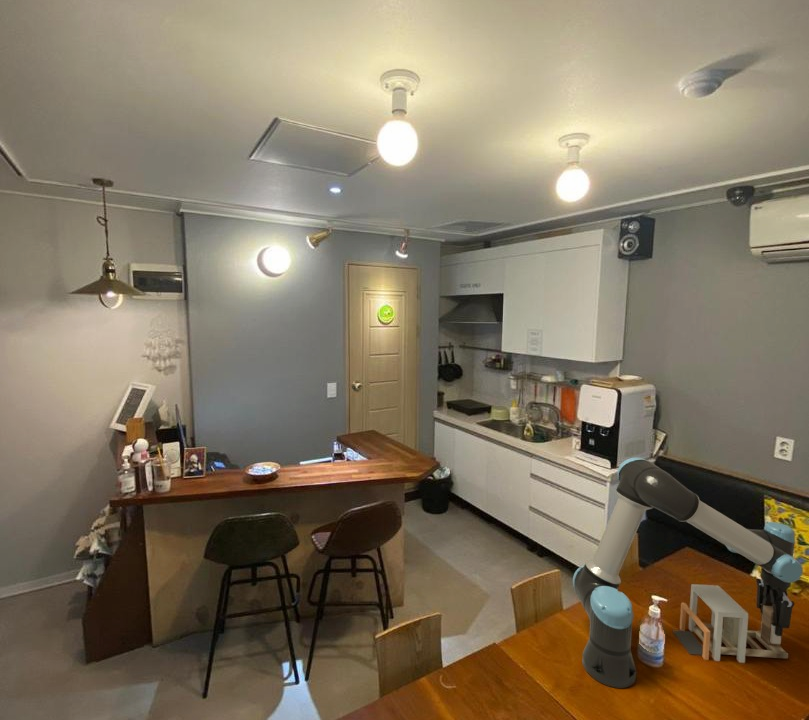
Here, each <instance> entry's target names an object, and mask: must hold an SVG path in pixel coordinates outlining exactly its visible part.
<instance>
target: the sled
mask: <svg viewBox="0 0 809 720" xmlns="http://www.w3.org/2000/svg"><path fill="white" fill-rule="evenodd" d="M761 614H762V613H761ZM702 623H703V624H704V625H705V626H706V627H707V628H708V630H709V631H710V645H709V653H711V654H712V651H713V637H714V627H713V626H712V625H711V623H710V622H702ZM761 623H762V627H761V626H760V630H750V629H749V630H748V629H747V640H746V644H748V645H749V646H750V647H751V648H746V653H745V657H755V658H756V657H757V658H758V657H759V658H773V659H774V658H775V659H785V660H786V659H788V658H789V653H788V652H786V651H785V650H784V649H783V647H782V646H781V644H772V643H771V642H770V637H771V625H772V623H774V613H773V606H765V605H763V614H762V622H761ZM723 632H724V628H722V639H721V643H722V644H724V646H721V653H720V655H727V656H729V655H731V656H737V648H736V647H735V646H734V645H733V644H732V643H731V642H730V641H729V640H728V639H727V638H726V637H725V635H724V634H723ZM693 633H694V634H695V635H696V636H697V637H698V638H699V640H700V641H701V642H702V643H703V639H704V632H703V631H702V630H701V628H700V627H699V626H696V627H694V632H693ZM753 638H754V639H756V640H757V641H758V642H759V643H760V644H762V646H763V647H764V648H766V649H763V648H761V647H760V646H759V645H758V644H757V643H756V641H754V639H753Z"/></svg>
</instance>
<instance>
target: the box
mask: <svg viewBox="0 0 809 720" xmlns="http://www.w3.org/2000/svg"><path fill="white" fill-rule="evenodd" d="M739 620H740V618H735V617H723V629H724V632H723V634H724V635H725V637H726V638H727V639H728V640H729V641H730V642H731V643H732V644H733V645H734V646H735V647H736V648H737V646H738V633H739Z"/></svg>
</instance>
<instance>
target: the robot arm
mask: <svg viewBox="0 0 809 720" xmlns="http://www.w3.org/2000/svg"><path fill="white" fill-rule="evenodd" d="M617 479H618V481H619V482H618V485H617V487H616V489H615V493H616V494H617V500H616V503H615V505H614V508H613V510H612V513H611V514H610V517H609V519H608V522H607V524H606V526H605V530H604V532H603V533H602V535H601V538H600V541H599V543H598V546H597V549H596V550H595V553H594V555H593V557H592V559H589V560H586V561H585V563H584V564H583V565H582V566H579V567H578V568H577V569H575V572H574V574H573V577H572V585H573V589H574V593H575V595H576V596H577V599H578V600H579V601H580V604H582V607H583V609H584V610H585V614H587V616H588V619H589V637H588V640H587V642H586V644H585V645H584V649H583V651H582V657H581V658H582V660H581V662H582V666H583V668H584V670H585V671H586V673H588V675H589V676H590V677H592V678H593V679H594V680H595V681H597V682H598V683H601V684H603V685H605V686H608V687H611V688H616V689H617V688H618V689H624V688H628V687H631V686H633V684H635V682H636V677H637V669H636V664H635V661H634V658H633V655H632V651H631V646H632V632H633V620H634V613H633V612H634V611H633V604H632V602H631V600H630V599H629V597H628V596H627V595H626V594H625V593H623V592H622V591H619V590H618V589H619V587H620V585H621V583H622V581H621V580H622V579H621V578H620V576H619V573H620V571H621V569H622V568H623V567H622V566H623V564H624V561H625V560H626V558H627V555H628V553H629V550H630V548H631V545H632V543H633V541H634V538H635V537H636V534H637V531H638V529H639V527H640V524H641V522H642V520H643V517H644V515H645V513H646V511H648V510H652V509H656V510H658V511H660V512H662V513H663V514H666V515H667V516H670V517H672V519H673V518H674V519H675V520H677V521H678V522H684V523H688V524H690V525H692V526H693V527H694V528H696V529H698V530H700V531H701V532H702V533H705V534H706V535H708V536H710V537H711V538H713V539H715V540H716V541H718V542H719V543H721V544H722V545H724V546H725V547H726V548H727V550H728V551H730V552H731V553H735V554H739V555H741V556H743V557H745V558H746V559H747V560H749V561H751V562H753V563H754V564H755V565H757V566H759V567H760V578H755V580H756V587H757V588H756V608H757V609H758V610H759V611H760V614H761V617H760V621H761V624H760V628H761V627H762V614H763V605H765V606H773V613H774V623H772V625H771V637H770V642H771V643H772V644H780V645H781V643H782V636H783V631H784V629H790V626H791V619H792V612H793V607H794V606H795V602H794V600H790V599H789V597H788V595H789V594H788V589H789V588H790V587H792V586H791V584H792V583H794V582H797V581H799V580H800V578H801V577H802V576H803V573H804V570H803V569H804V568H803V565H802V564H801V562H799V561H798V560H797V559H795V558H794V553H795V552H794V551H795V544H796V536H795V530H794V529H793V528H792V527H791V526H789V525H786V524H784V523H781V522H776V521H775V522H774V521H769V522H765V524H764V527H763V529H752V528H751V529H750V528H746V527H744V526H743V525H741V524H739V523H737V522H736V521H734V519H731V518H729V517H728V516H726V515H725V514H723V513H721V512H720V511H718V510H716V509H715V508H713V507H711V506H709V505H708V504H706V503H705V502H703V501H701V500H700V497H699V495H697V493H695V492H693V491H692V490H690V489H688V488H687V487H686V486H685V485H683V484H682V483H681V482H680V481H678V480H677V479H676V478H675V477H673V475H671V474H670V473H669V472H667V471H666V470H663V469H662V468H660V467H659V466H658V465H656V464H654V463H653V462H652V461H649V460H647V459H645V458H643V457H637V456H635V457H631V458H628V459H625V460H623V462H621V464H620V465H619V466H618V469H617Z"/></svg>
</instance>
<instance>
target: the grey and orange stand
mask: <svg viewBox="0 0 809 720" xmlns="http://www.w3.org/2000/svg"><path fill="white" fill-rule="evenodd" d="M698 598H700V599H701V600H702V601H703V602H704V604H706V606H707V607H709V609H710V610H711V620H710V621H711V623H710V624H711V625H712V626H713V627H714V637H713V651H712V653H711V658H712V659H713V661H715V662H720V661H721V654H720V653H721V647H722V641H721V639H722V629H723V626H724V617H735V618H740V620H739V633H738V646H737V655H736V660H737V662H738V663H740V664H741V663H742V664H745V663H746V656H745V653H746V649H747V648H746V647H747V642H746V640H747V630H748V625H749V612H747V611H746V610H745V609H744V608H743V607H742V606H741V605H740V604H739V603H738V602H736V601H735V599H733V598H732V597H731V596H730V595H729V594H728V593H727V592H726V591H725V590H724V589H722V587H720V586H719V585H715V584H698V583H697V584H696V583H695V584H692V583H691V586H690V599H689V600H690V601H689V606H688V605H687V603H686V602H681V603H680V615H679V616H680V617H679V630H680V631H686V622H687V621H686V620H687V615H688V630H689V632H691V633H692V632H693V633H695V632H694V627H700V628H701V630H702V631H703V632H704V639H703V642H702V647H703V654H702V655H701V656H702V657H701V658H703V661H705V660H706V661H709V657H710V656H709V655H710V650H709V645H710V631H709V630H708V628H707V627H706V626H705V625H704V624H703V623H704V622H702V621H701V618H699V617H698V615H697V610H698ZM696 625H697V626H696Z"/></svg>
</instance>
